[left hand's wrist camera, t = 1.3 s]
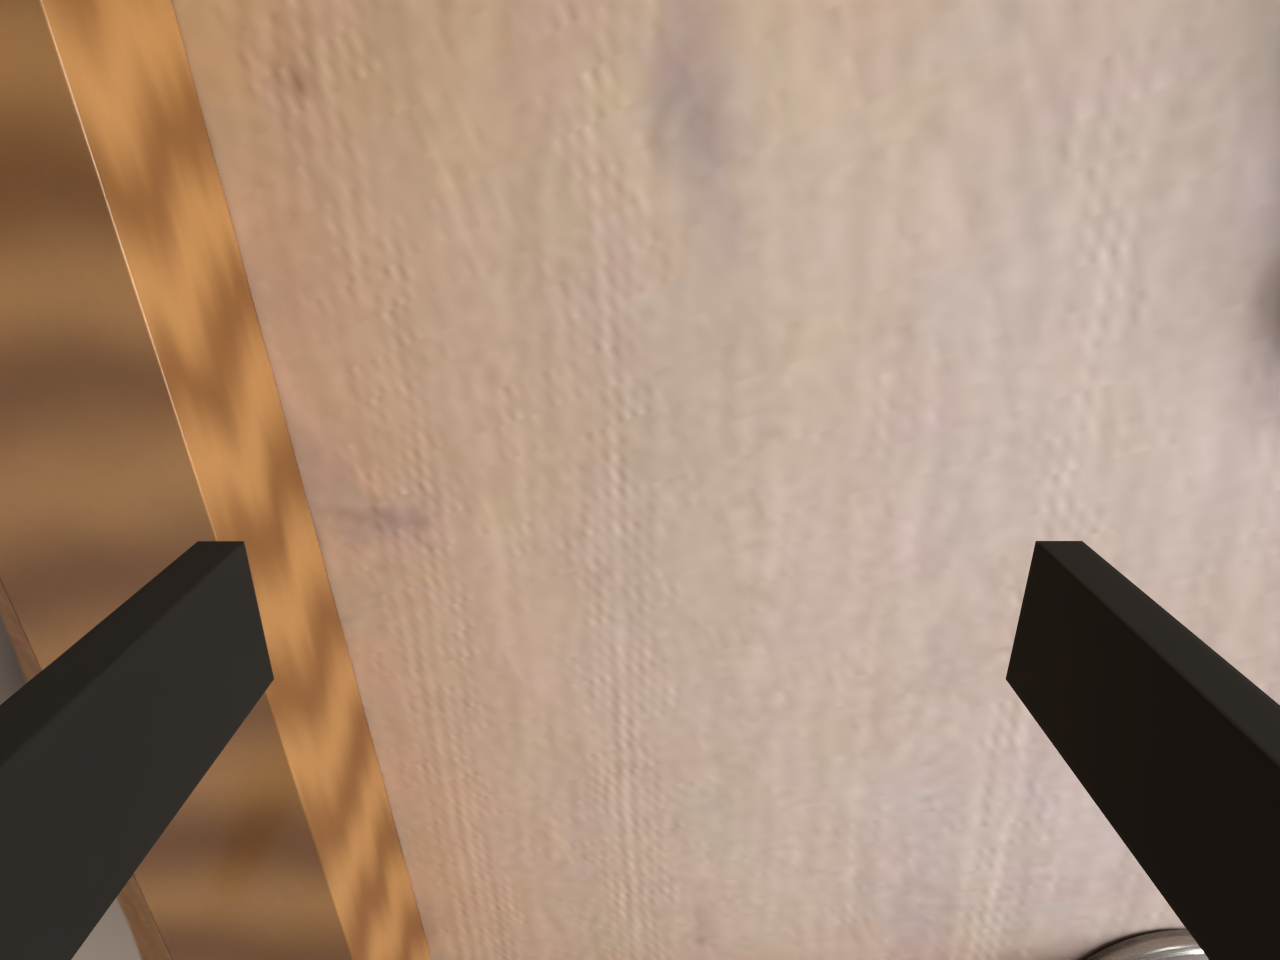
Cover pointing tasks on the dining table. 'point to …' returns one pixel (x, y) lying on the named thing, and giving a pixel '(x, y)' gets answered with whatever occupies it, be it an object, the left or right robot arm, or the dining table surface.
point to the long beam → (175, 478)
